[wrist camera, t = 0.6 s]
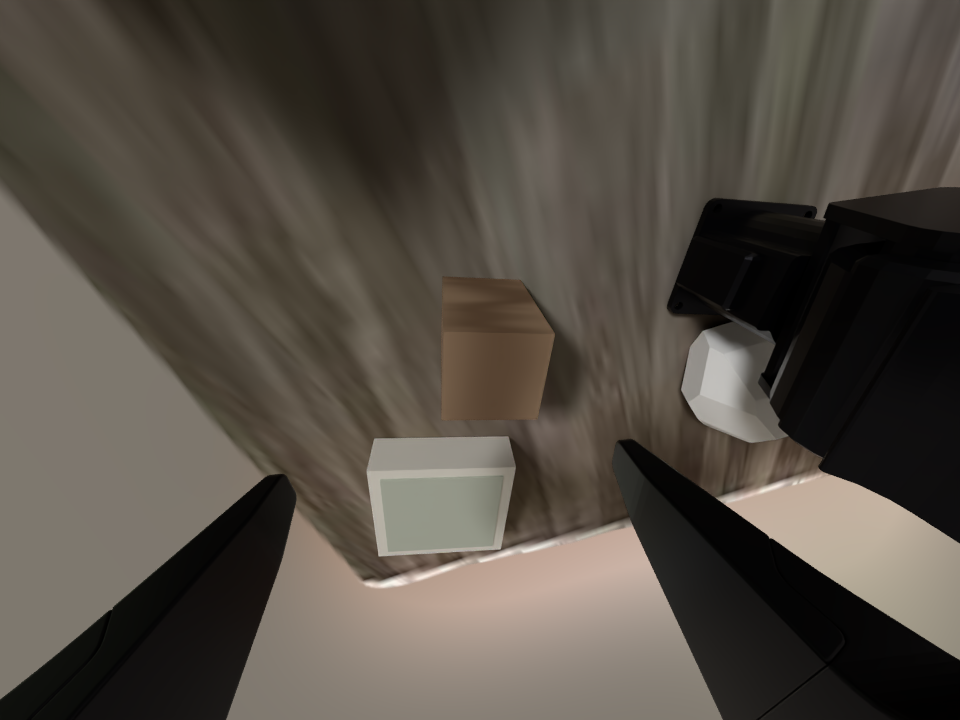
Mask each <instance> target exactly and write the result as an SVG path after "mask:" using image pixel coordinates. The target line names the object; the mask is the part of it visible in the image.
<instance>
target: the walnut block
mask: <svg viewBox="0 0 960 720" xmlns="http://www.w3.org/2000/svg"><path fill="white" fill-rule="evenodd" d="M554 338H555V333H554V332H553V330H552V328H551V327H550V325H549V324H548V322H547V321H546V319H545V318H544V316H543V314H542V313H541V311H540V310H539V308H538V307H537V305H536V303H535V302H534V300H533V299H532V297H531V296H530V294H529V293H528V291H527V289H526V288H525V286H524V285H523V283H522V282H521V280H509V279H486V278H463V277H443V283H442V339H441V420H533V419H537V418H538V414H539V409H540V404H541V399H542V395H543V390H544V385H545V380H546V376H547V371H548V366H549V361H550V357H551V352H552V347H553V342H554Z"/></svg>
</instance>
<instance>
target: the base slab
mask: <svg viewBox="0 0 960 720" xmlns="http://www.w3.org/2000/svg"><path fill="white" fill-rule="evenodd" d="M515 469H516V465H515V461H514V457H513V453H512V449H511V445H510V441H509V436H503V437H440V438H377V439H374V442H373V447H372V451H371V455H370V459H369V464H368V468H367V477H368V484H369V491H370V498H371V505H372V512H373V519H374V526H375V533H376V540H377V547H378V554H379V556H392V555H410V554H427V553H444V552H462V551H479V550H496V549H501V545H502V539H503V534H504V529H505V523H506V518H507V512H508V507H509V502H510V496H511V491H512V486H513V480H514V475H515Z"/></svg>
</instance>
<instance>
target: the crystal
mask: <svg viewBox="0 0 960 720" xmlns="http://www.w3.org/2000/svg"><path fill="white" fill-rule="evenodd" d="M774 347H775V345H774V344H772V343H770V342H769V341H767V340H765V339H763V338H762V337H760V336H758V335H756V334H755V333H753V332H751V331H749V330H747V329H746V328H744V327H742V326H740V325H739V324H737V323H735V322H730V323H727V324H723V325H720V326H717V327H713V328H710V329H707V330H704V331H702V332H701V334H700V335H699V336H698V337H697V339H696V340H695V341H694V342H693V344H692V345H691V346H690V350H689V355H688V359H687V364H686V369H685V374H684V379H683V383H682V388H681V391H682V393H683V395H684V396H685V398H686V400H687V402H688V404H689V405H690V407H691V409H692V410H693V412H694V414H695V415H696V417H697V418H698V420H699V421H701V422H702V423H703V424H704V425H706V426H709V427H711V428H713V429H716V430H718V431H721V432H723V433H726V434H728V435H731V436H733V437H736V438H738V439H741V440H744V441H746V442H749V443H755V442H763V441H770V440H777V439H781V438H784V437H788V435H787V434H786V433H784V432H783V431H782V430H781V429H780V428H779V426H778V422H779V420H780V419H779V418H778V417H777V415H776V413H775V412H774V410H773V408H772V406H771V405H770V403H769V402H770V400H769V398H768V397H767V395H766V394H765V393H764V391H763V390H762V388H761V387H760V385H759V384H758V380H759V377H760V375H761V373H763V372H764V371H765V369H766V366H767V364H768V361H769V359H770V356H771V354H772V351H773V349H774Z"/></svg>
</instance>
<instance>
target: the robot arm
mask: <svg viewBox="0 0 960 720" xmlns="http://www.w3.org/2000/svg"><path fill="white" fill-rule="evenodd" d="M716 205H717V209H716V211H715V212H713V208H714V207H715V206H716ZM805 213H806V214H805ZM804 214H805V216H804ZM816 214H817V209H816V207H814V206H809V205H798V204H785V203H773V202H760V201H748V200H735V199H723V198H713V199H711V200H709V201H708V202H707V203H706V205H705V207H704V209H703V212H702V214H701V217H700V220H699V222H698V225H697V228H696V230H695V233H694V235H693V238H692V240H691V243H690V245H689V248H688V251H687V253H686V256H685V259H684V261H683V264H682V266H681V269H680V272H679V274H678V277H677V280H676V283H675V285H674V288H673V291H672V293H671V296H670V298H669V301H668V304H667V308H668V309H669V310H670V311H671V312H673V313H677V314H708V315H723V316H724V317H726V318H728V319H730V320H732V321H733V322H735V323H737V324H739V325H740V326H742V327H744V328H746V329H747V330H749V331H751V332H753V333H755V334H756V335H758V336H760V337H762V338H763V339H765V340H767V341H769V342H770V343H772V344H774V345H775V347H774V349H773V351H772V354H771V356H770V359H769V361H768V364H767V366H766V369H765V371H764V372H763V373H761V375H760V377H759V380H758V384H759V385H760V387H761V388H762V390H763V391H764V393H765V394H766V395H767V397H768V398H769V400H770V402H769V403H770V405H771V406H772V408H773V410H774V412H775V413H776V415H777V417H778V418H779V419H780V420H779V422H778V426H779V428H780V429H781V430H782V431H783V432H784V433H786V434H787V435H788V436H789V437H790V438H791V439H793V440H794V441H795V442H796V443H797V444H799V445H801V446H802V447H804V448H805V449H807V450H808V451H810V452H811V453H813V454H814V455H816V456H818V457H820V458H822V461H821V463H820V464H819V466H818V467H819V469H820V470H821V471H823V472H825V473H828V474H830V475H833V476H836V477H839V478H842V479H844V480H847V481H850V482H853V483H856V484H858V485H860V486H863V487H865V488H867V489H869V490H871V491H873V492H875V493H877V494H879V495H881V496H883V497H885V498H887V499H890V500H891V501H893V502H895V503H896V504H898V505H900V506H901V507H903V508H905V509H907V510H908V511H910V512H912V513H913V514H915V515H916V516H918V517H919V518H921V519H923V520H924V521H926V522H927V523H929V524H930V525H932V526H934V527H935V528H937V529H938V530H940V531H941V532H943V533H945V534H946V535H948V536H949V537H951V538H952V539H954V540H955V541H957V542H958V543H960V187H940V188H932V189H924V190H917V191H910V192H903V193H896V194H888V195H881V196H874V197H867V198H860V199H852V200H845V201H838V202H831V203H829V204H828V207H827V210H826V212H825V215H824V217H823V218H825V219H826V220H825V221H823V220H817V219H814V218H815V216H816ZM803 216H804V217H803ZM678 302H679V304H678V306H676V307H675V305H676V304H677V303H678ZM612 465H613V470H614V473H615V476H616V479H617V482H618V484H619V487H620V490H621V493H622V496H623V499H624V502H625V505H626V508H627V511H628V514H629V516H630V519H631V522H632V524H633V527H634V529H635V531H636V533H637V536H638V538H639V540H640V542H641V544H642V546H643V548H644V551H645V553H646V555H647V557H648V559H649V561H650V563H651V566H652V568H653V570H654V572H655V574H656V576H657V579H658V581H659V583H660V585H661V587H662V589H663V592H664V594H665V596H666V598H667V600H668V602H669V604H670V607H671V609H672V611H673V613H674V615H675V617H676V619H677V622H678V624H679V626H680V628H681V630H682V633H683V635H684V636H685V639H686V641H687V643H688V645H689V648H690V650H691V652H692V654H693V656H694V658H695V661H696V663H697V665H698V667H699V669H700V671H701V673H702V676H703V678H704V680H705V682H706V684H707V686H708V688H709V691H710V693H711V695H712V697H713V699H714V701H715V703H716V706H717V708H718V710H719V712H720V714H721V716H722V719H723V720H960V660H959V659H957V658H955V657H954V656H952V655H950V654H949V653H947V652H945V651H944V650H942V649H940V648H939V647H937V646H936V645H934V644H933V643H931V642H929V641H928V640H926V639H925V638H923V637H921V636H920V635H918V634H917V633H915V632H914V631H912V630H910V629H909V628H907V627H905V626H904V625H902V624H901V623H899V622H898V621H896V620H894V619H893V618H891V617H890V616H888V615H887V614H885V613H883V612H882V611H880V610H879V609H877V608H875V607H874V606H872V605H871V604H869V603H868V602H866V601H864V600H863V599H861V598H860V597H858V596H856V595H855V594H853V593H852V592H850V591H849V590H847V589H846V588H844V587H843V586H841V585H839V584H838V583H836V582H835V581H833V580H832V579H830V578H829V577H827V576H826V575H824V574H823V573H821V572H819V571H818V570H817V569H815V568H814V567H812V566H811V565H809V564H808V563H806V562H805V561H803V560H802V559H801V558H799V557H798V556H796V555H795V554H793V553H792V552H791V551H789V550H788V549H786V548H785V547H784V546H782V545H781V544H779V543H778V542H776V541H775V540H774V539H771V538H770V539H769V537H768V536H767V534H765V533H764V532H762V531H761V530H760V529H758V528H756V527H755V526H754V525H752V524H751V523H750V522H748V521H747V520H745V519H744V518H743V517H741V516H740V515H738V514H737V513H736V512H734V511H733V510H731V509H730V508H729V507H727V506H726V505H724V504H723V503H722V502H720V501H719V500H717V499H716V498H715V497H713V496H712V495H710V494H709V493H708V492H706V491H705V490H703V489H702V488H701V487H699V486H698V485H696V484H695V483H694V482H692V481H691V480H689V479H688V478H687V477H685V476H684V475H682V474H681V473H680V472H678V471H677V470H675V469H674V468H673V467H671V466H670V465H668V464H667V463H666V462H664V461H663V460H661V459H660V458H659V457H657V456H656V455H654V454H653V453H652V452H650V451H649V450H647V449H646V448H645V447H643V446H642V445H640V444H639V443H638V442H636V441H635V440H632V439H626V440H618V441H617V442H616V445H615V450H614V455H613V460H612ZM295 505H296V492H295V490H294V489H293V487H292V485H291V483H290V481H289V479H288V478H287V476H286V475H284V474H275V475H269V476H266V477H265V478H264V479H263V480H261V481H260V482H259V483H258V484H257V485H255V486H254V487H253V488H252V489H251V490H250V491H249V492H247V493H246V494H245V495H244V496H243V497H242V498H240V499H239V500H238V501H237V502H236V503H234V504H233V505H232V506H231V507H230V508H229V509H228V510H226V511H225V512H224V513H223V514H222V515H220V516H219V517H218V518H217V519H216V520H215V521H213V522H212V523H211V524H210V525H209V526H207V527H206V528H205V529H204V530H203V531H202V532H200V533H199V534H198V535H197V536H196V537H195V538H193V539H192V540H191V541H190V542H189V543H188V544H186V545H185V546H184V547H183V548H182V549H181V550H179V551H178V552H177V553H176V554H175V555H174V556H172V557H171V558H170V559H169V560H168V561H166V562H165V563H164V564H163V565H162V566H161V567H159V568H158V569H157V570H156V571H155V572H154V573H152V574H151V575H150V576H149V577H148V578H147V579H145V580H144V581H143V582H142V583H141V584H140V585H138V586H137V587H136V588H135V589H134V590H132V591H131V592H130V593H129V594H128V595H127V596H126V597H124V598H123V599H122V600H121V601H120V602H118V603H117V604H116V605H115V606H114V607H113V609H112V610H109V611H108V612H107V613H105V614H104V615H103V616H102V617H101V618H100V619H98V620H97V621H96V622H95V623H94V624H93V625H91V626H90V627H89V628H88V629H87V630H86V631H84V632H83V633H82V634H81V635H80V636H78V637H77V638H76V639H75V640H74V641H72V642H71V643H70V644H69V645H68V646H66V647H65V648H64V649H63V650H61V651H60V652H59V653H58V654H57V655H55V656H54V657H53V658H52V659H51V660H49V661H48V662H47V663H46V664H45V665H43V666H42V667H41V668H39V669H38V670H37V671H36V672H34V673H33V674H32V675H31V676H29V677H28V678H27V679H26V680H24V681H23V682H22V683H21V684H19V685H18V686H17V687H16V688H14V689H13V690H12V691H10V692H9V693H8V694H7V695H5V696H4V697H3V698H2V699H0V720H226V718H227V716H228V713H229V710H230V707H231V704H232V701H233V698H234V696H235V693H236V690H237V687H238V684H239V681H240V678H241V675H242V673H243V670H244V667H245V664H246V661H247V658H248V656H249V653H250V650H251V647H252V644H253V641H254V639H255V636H256V633H257V630H258V627H259V624H260V621H261V619H262V615H263V613H264V610H265V607H266V604H267V601H268V599H269V596H270V593H271V590H272V587H273V584H274V582H275V579H276V576H277V573H278V570H279V567H280V564H281V561H282V558H283V554H284V550H285V546H286V542H287V538H288V534H289V530H290V525H291V521H292V517H293V513H294V509H295Z"/></svg>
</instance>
